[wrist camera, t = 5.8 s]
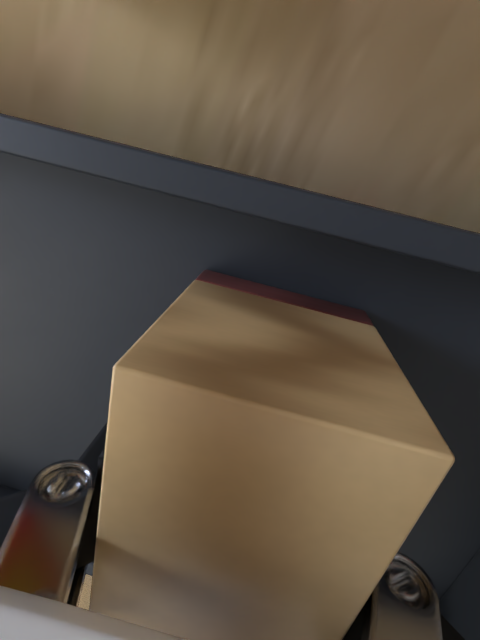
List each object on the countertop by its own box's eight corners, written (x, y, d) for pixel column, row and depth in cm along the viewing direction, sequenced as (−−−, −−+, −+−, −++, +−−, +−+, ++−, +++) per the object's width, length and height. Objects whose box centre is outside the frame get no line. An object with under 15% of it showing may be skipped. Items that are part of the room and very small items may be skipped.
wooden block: (366, 310, 10) (458, 459, 5) (276, 531, 14) (270, 755, 9) (204, 268, 10) (110, 365, 5) (159, 498, 14) (79, 698, 9)
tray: (689, 286, 9) (823, 320, 7) (436, 609, 16) (463, 687, 13) (-173, 69, 10) (-311, 35, 8) (-95, 455, 16) (-160, 501, 14)
